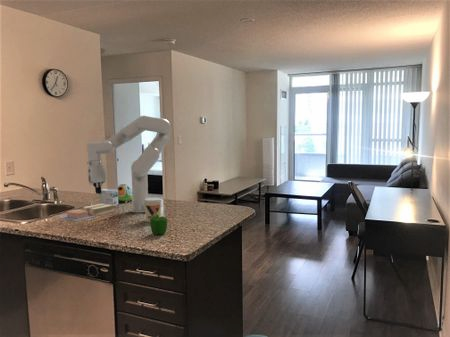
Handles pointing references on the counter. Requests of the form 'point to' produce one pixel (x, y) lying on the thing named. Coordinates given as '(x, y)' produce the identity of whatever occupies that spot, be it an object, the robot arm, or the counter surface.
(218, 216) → the counter surface
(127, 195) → the turtle holder
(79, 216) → the tile
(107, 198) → the light bulb box
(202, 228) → the counter surface
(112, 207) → the deck
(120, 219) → the counter surface
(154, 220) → the bell pepper
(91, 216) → the mat
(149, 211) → the coffee cup
